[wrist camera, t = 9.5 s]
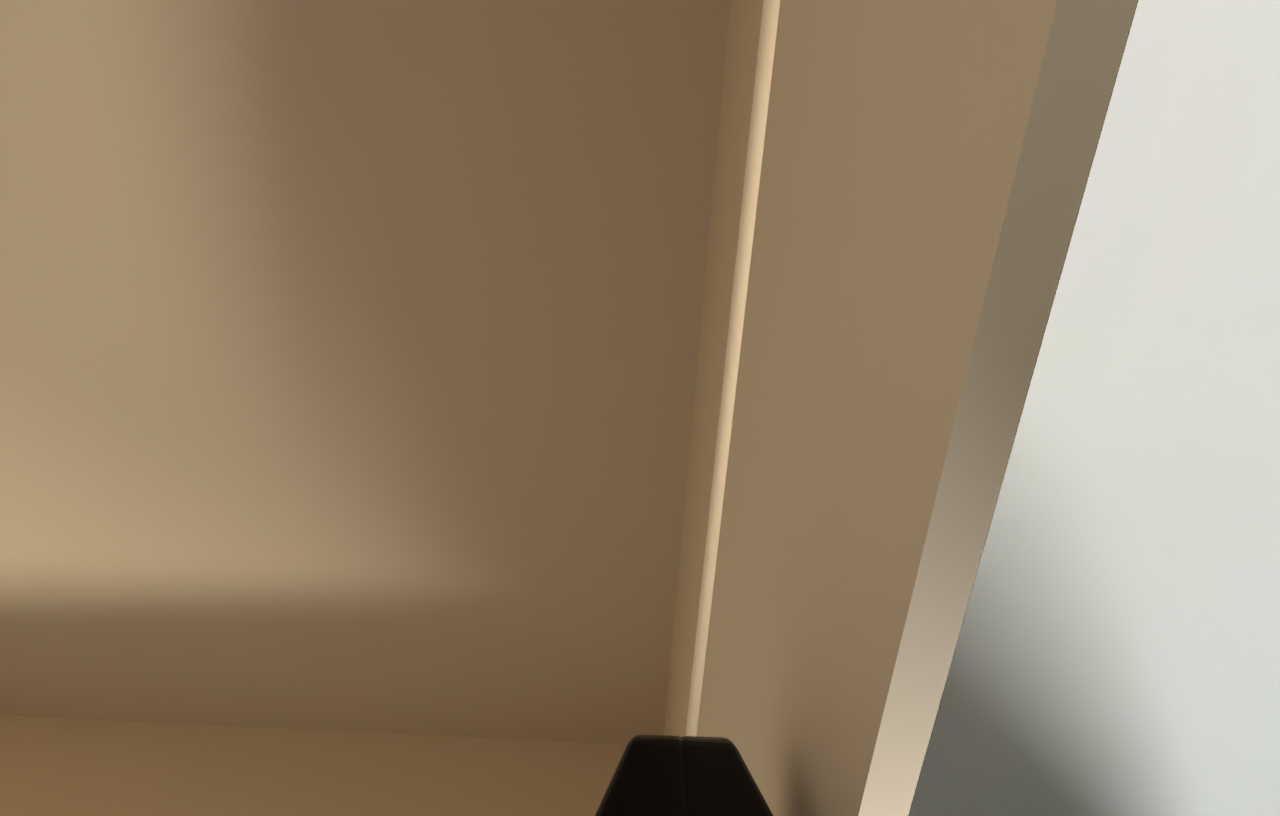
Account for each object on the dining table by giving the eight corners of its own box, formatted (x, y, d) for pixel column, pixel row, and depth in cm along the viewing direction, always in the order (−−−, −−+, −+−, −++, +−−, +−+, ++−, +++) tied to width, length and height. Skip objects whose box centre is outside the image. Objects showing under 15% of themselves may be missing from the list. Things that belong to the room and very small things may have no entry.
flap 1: (912, -675, 7) (1414, -979, 3) (691, 976, 16) (745, 1393, 12) (857, -682, 7) (1299, -989, 3) (668, 978, 16) (716, 1396, 12)
